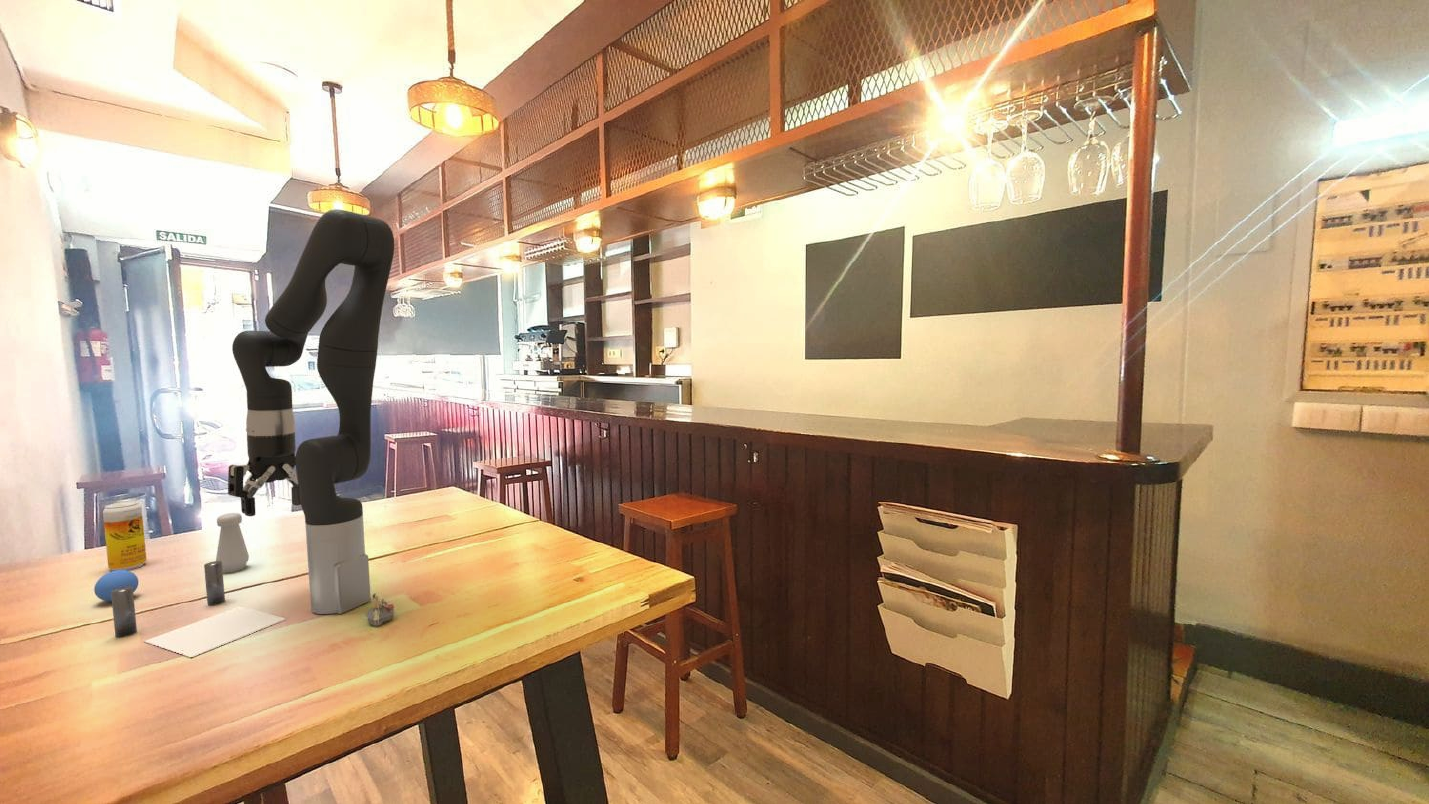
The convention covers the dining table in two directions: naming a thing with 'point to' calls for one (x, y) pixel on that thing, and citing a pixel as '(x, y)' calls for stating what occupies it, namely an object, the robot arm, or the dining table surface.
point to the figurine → (380, 612)
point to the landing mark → (214, 631)
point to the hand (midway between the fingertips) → (274, 509)
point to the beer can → (124, 535)
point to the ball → (114, 583)
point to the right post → (214, 582)
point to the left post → (123, 611)
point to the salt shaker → (231, 543)
